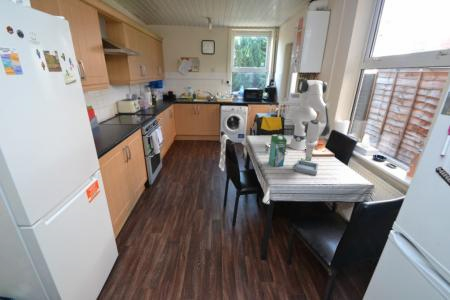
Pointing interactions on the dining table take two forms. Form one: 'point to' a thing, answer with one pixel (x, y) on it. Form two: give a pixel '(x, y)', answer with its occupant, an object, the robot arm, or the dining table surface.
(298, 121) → the robot arm
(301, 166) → the bin
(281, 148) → the milk carton
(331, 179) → the dining table surface
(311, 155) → the cucumber chunk
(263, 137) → the dining table surface
